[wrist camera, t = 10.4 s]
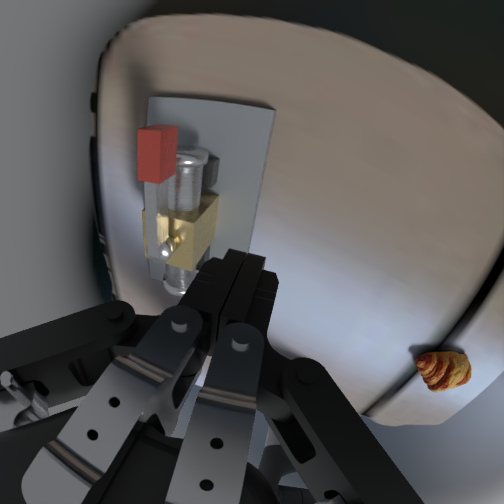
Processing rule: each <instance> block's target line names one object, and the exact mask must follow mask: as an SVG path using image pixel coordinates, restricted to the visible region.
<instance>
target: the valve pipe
mask: <svg viewBox="0 0 504 504" xmlns="http://www.w3.org/2000/svg"><path fill="white" fill-rule="evenodd" d="M208 155H209V151H208V150H206V149H204V148H201V147H197V146H189V145H177V150H176V169H175V174H174V175H173V176H171V177H170V178H169V189H168V229H169V235H170V236H171V237H172V238H173V239H174V241H175V243H176V250H175V252H174V253H173V254H172V256H171V257H170V258H169V259H168V260H167V262H166V263H165V273H164V275H163V286H164V289H165V290H166V291H167V292H168V293H170V294H172V295H174V296H183V295H184V293H185V292H186V290H187V289H188V287H189V285H190V284H191V282H192V281H193V280H194V278H195V276H196V274H197V273H196V270H198V271H199V270H200V268H201V267H202V265H203V263H204V262H206V261H208V260H209V256H210V246H209V245H210V244H211V242H212V241H213V239H214V238H215V231H216V222H217V213H218V204H219V195H216V194H212V193H207V192H203V191H201V187H206V188H212V187H213V186H214V185H215V184H216V183H217V178H218V169H219V161H220V158H214V157H209V156H208ZM142 220H143V237H144V250H145V257H147V258H149V256H148V255H147V252H146V246H147V233H146V217H145V208H144V209H143V210H142Z"/></svg>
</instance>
